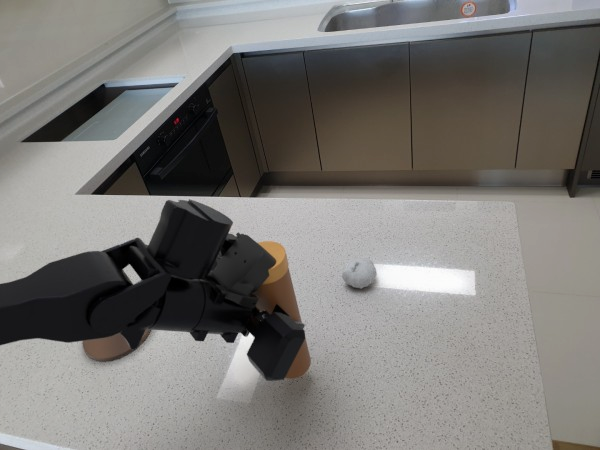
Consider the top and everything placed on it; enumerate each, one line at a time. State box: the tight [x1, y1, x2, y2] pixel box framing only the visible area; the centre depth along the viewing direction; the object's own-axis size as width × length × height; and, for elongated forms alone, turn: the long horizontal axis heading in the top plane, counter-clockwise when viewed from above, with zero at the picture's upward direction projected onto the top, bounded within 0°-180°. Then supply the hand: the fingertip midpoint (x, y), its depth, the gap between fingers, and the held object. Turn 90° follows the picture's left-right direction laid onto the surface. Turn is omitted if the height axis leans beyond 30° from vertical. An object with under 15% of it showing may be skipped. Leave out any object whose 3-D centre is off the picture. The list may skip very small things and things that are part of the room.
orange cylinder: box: [252, 240, 312, 380], centre depth 58 cm, size 5×5×20 cm
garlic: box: [341, 257, 378, 289], centre depth 79 cm, size 6×5×5 cm
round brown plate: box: [82, 329, 152, 362], centre depth 81 cm, size 12×12×1 cm
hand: (290, 316), depth 59 cm, fingers closed on orange cylinder, 5 cm apart
